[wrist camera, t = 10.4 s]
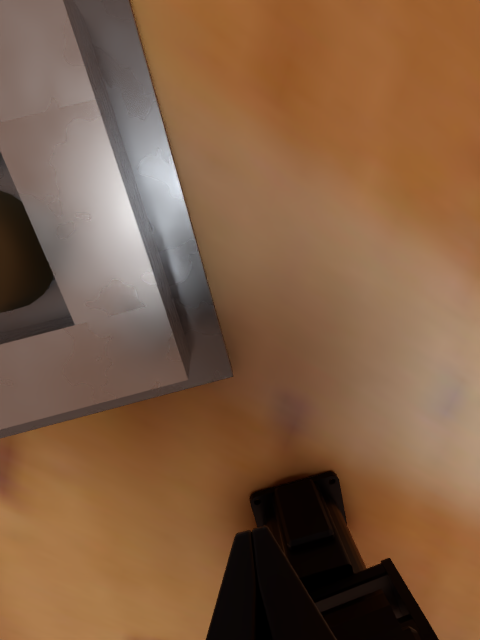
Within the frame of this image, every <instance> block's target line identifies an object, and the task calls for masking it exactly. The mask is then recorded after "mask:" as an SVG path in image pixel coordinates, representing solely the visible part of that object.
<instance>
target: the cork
mask: <svg viewBox="0 0 480 640" xmlns="http://www.w3.org/2000/svg"><path fill="white" fill-rule="evenodd" d="M53 276H54V275H53V273H52V270H51V268H50V266H49V263H48V261H47V259H46V256H45V254H44V252H43V249H42V247H41V245H40V242H39V240H38V238H37V235H36V233H35V231H34V228H33V226H32V224H31V221H30V219H29V217H28V214H27V212H26V210H25V208H24V205H23V203H22V202H21V201H20V200H18V199H17V198H15V197H14V196H13V195H11V194H8V193H5V192H3V191H0V313H2V312H7V311H11V310H15V309H18V308H21V307H24V306H28V305H30V304H32V303H33V302H34V301H36V300H37V299H38V298H40V297H41V296H42V295H44V293H45V291H46V290H47V288H48V287H49V285H50V284H51V282H52V280H53Z"/></svg>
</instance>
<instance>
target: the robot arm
mask: <svg viewBox="0 0 480 640" xmlns="http://www.w3.org/2000/svg"><path fill="white" fill-rule="evenodd" d="M330 479H332V480H330ZM257 499H259V500H257ZM250 503H251V507H252V510H253V513H254V517H255V520H256V523H257V527H258V528H254V529H253V530H252V532H251V531H250V530H247V531H243V532H240V533H237V534H236V535H235V538H234V541H233V545H232V548H231V552H230V555H229V559H228V562H227V566H226V570H225V573H224V577H223V580H222V584H221V587H220V591H219V594H218V598H217V602H216V605H215V609H214V612H213V616H212V619H211V623H210V627H209V630H208V634H207V637H206V640H439V639H438V638H437V636H436V634H435V632H434V631H433V629H432V627H431V625H430V624H429V622H428V620H427V619H426V617H425V615H424V614H423V612H422V611H421V609H420V607H419V606H418V604H417V602H416V601H415V599H414V597H413V596H412V594H411V592H410V591H409V589H408V587H407V586H406V584H405V582H404V581H403V579H402V577H401V576H400V574H399V572H398V571H397V569H396V567H395V566H394V564H393V562H392V561H391V559H390V558H387V559H385V560H382V561H381V563H380V564H378V565H375V566H372V567H370V568H366V566H365V564H364V562H363V560H362V558H361V555H360V553H359V551H358V549H357V547H356V544H355V542H354V540H353V538H352V536H351V534H350V531H349V529H348V527H347V522H346V516H345V511H344V505H343V500H342V494H341V489H340V483H339V479H338V477H337V475H336V473H334V472H327V473H324V474H320V475H316V476H313V477H309V478H305V479H302V480H298V481H294V482H291V483H287V484H283V485H280V486H276V487H273V488H269V489H265V490H262V491H258V492H255V493H253V494H251V496H250Z"/></svg>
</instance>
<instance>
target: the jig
mask: <svg viewBox="0 0 480 640" xmlns="http://www.w3.org/2000/svg"><path fill="white" fill-rule="evenodd" d="M0 191H3V192H5V193H8V194H11V195H13V196H14V197H15V198H17V199H18V200H20V201H21V202H22V203H23V205H24V208H25V210H26V212H27V214H28V217H29V219H30V221H31V224H32V226H33V228H34V231H35V233H36V235H37V238H38V240H39V242H40V245H41V247H42V249H43V252H44V254H45V256H46V259H47V261H48V263H49V266H50V268H51V270H52V273H53V275H54V276H53V280H52V282H51V284H50V285H49V287H48V288H47V290H46V291H45V293H44V295H42V296H41V297H40V298H38V299H37V300H36V301H34V302H33V303H32V304H30V305H28V306H24V307H21V308H18V309H15V310H11V311H7V312H2V313H0V438H3V437H7V436H11V435H15V434H18V433H22V432H26V431H30V430H33V429H37V428H41V427H45V426H49V425H52V424H56V423H60V422H64V421H67V420H71V419H75V418H79V417H82V416H86V415H90V414H94V413H97V412H101V411H105V410H109V409H113V408H116V407H120V406H124V405H128V404H131V403H135V402H139V401H143V400H146V399H150V398H154V397H158V396H161V395H165V394H169V393H173V392H177V391H180V390H184V389H188V388H192V387H195V386H199V385H203V384H207V383H210V382H214V381H218V380H222V379H225V378H229V377H233V372H232V367H231V364H230V360H229V357H228V353H227V349H226V346H225V342H224V339H223V335H222V331H221V328H220V324H219V320H218V317H217V313H216V310H215V306H214V302H213V299H212V295H211V292H210V288H209V284H208V281H207V277H206V274H205V270H204V266H203V263H202V259H201V256H200V252H199V248H198V245H197V241H196V238H195V234H194V230H193V227H192V223H191V220H190V216H189V212H188V209H187V205H186V202H185V198H184V194H183V191H182V187H181V183H180V180H179V176H178V173H177V169H176V165H175V162H174V158H173V155H172V151H171V147H170V144H169V140H168V137H167V133H166V129H165V126H164V122H163V119H162V115H161V111H160V108H159V104H158V101H157V97H156V93H155V90H154V86H153V83H152V79H151V75H150V72H149V68H148V65H147V61H146V57H145V54H144V50H143V46H142V43H141V39H140V36H139V32H138V28H137V25H136V21H135V18H134V14H133V10H132V7H131V3H130V0H0Z"/></svg>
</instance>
